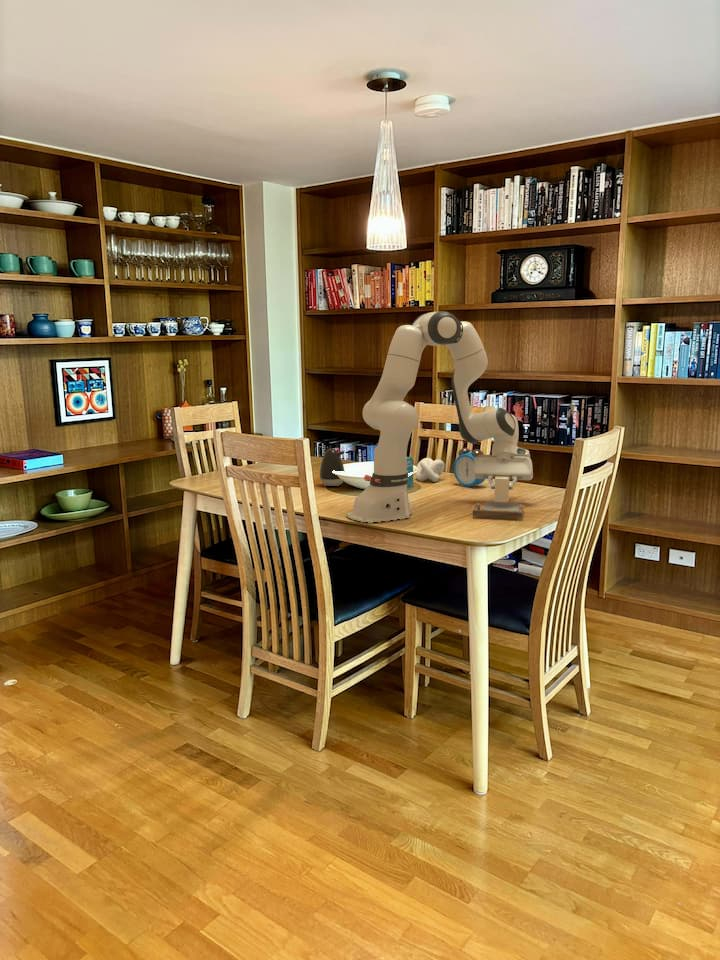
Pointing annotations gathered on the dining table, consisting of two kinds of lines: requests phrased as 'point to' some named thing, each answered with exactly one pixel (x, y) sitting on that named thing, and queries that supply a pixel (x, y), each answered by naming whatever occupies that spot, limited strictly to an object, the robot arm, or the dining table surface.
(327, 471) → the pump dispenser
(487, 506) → the grey mat
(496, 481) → the cream block
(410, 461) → the data package
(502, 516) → the brown wooden tray
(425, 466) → the white decorative knot
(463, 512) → the dining table surface
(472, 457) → the alarm clock
